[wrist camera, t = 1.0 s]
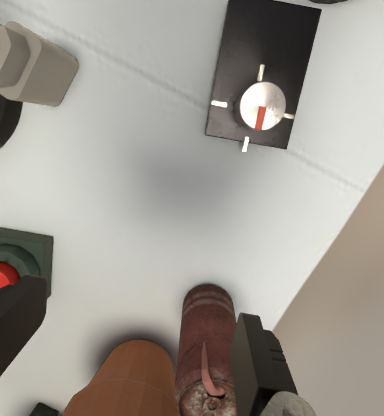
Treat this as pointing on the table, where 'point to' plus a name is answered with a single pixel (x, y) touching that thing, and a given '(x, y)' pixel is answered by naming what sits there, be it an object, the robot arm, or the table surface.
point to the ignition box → (27, 253)
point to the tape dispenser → (327, 1)
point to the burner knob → (260, 106)
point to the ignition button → (8, 274)
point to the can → (206, 354)
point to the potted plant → (129, 384)
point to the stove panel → (261, 64)
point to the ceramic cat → (43, 411)
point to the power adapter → (33, 67)
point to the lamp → (8, 117)
